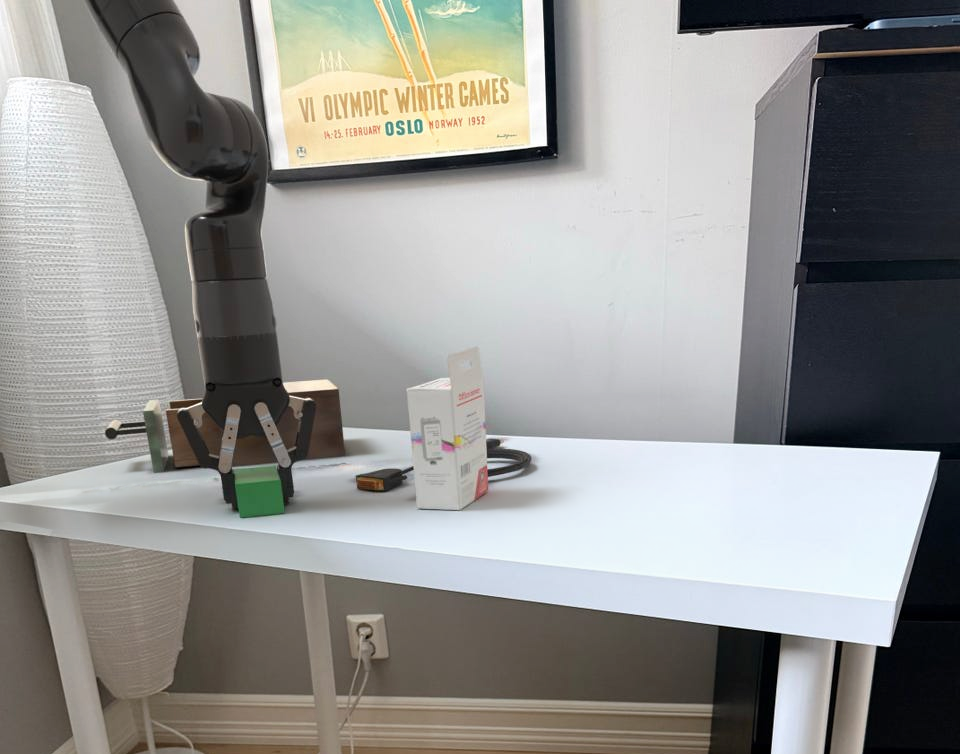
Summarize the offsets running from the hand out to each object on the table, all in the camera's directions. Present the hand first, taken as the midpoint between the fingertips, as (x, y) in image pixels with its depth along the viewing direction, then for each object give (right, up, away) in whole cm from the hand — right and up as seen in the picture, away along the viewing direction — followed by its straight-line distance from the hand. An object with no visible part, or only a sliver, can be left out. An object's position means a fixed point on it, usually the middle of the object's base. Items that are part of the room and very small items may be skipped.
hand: (260, 503), depth 96 cm
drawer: (-14, +9, +22) cm, 27 cm away
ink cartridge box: (+20, 0, -1) cm, 20 cm away
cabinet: (-3, +9, +25) cm, 26 cm away
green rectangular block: (0, 0, 0) cm, 0 cm away
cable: (+22, +6, +13) cm, 26 cm away
